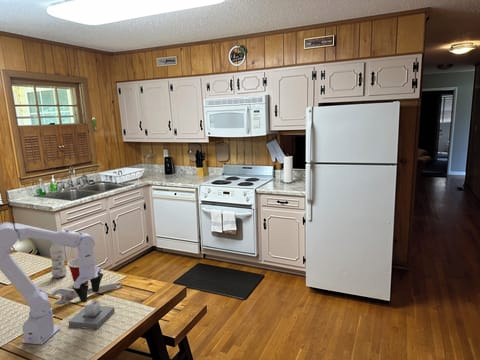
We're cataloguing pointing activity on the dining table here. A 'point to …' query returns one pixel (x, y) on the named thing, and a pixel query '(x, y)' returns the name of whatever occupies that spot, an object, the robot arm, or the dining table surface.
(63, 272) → the plastic bottle
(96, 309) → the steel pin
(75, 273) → the plastic cup
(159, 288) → the dining table surface
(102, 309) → the socket block
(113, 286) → the wrench
